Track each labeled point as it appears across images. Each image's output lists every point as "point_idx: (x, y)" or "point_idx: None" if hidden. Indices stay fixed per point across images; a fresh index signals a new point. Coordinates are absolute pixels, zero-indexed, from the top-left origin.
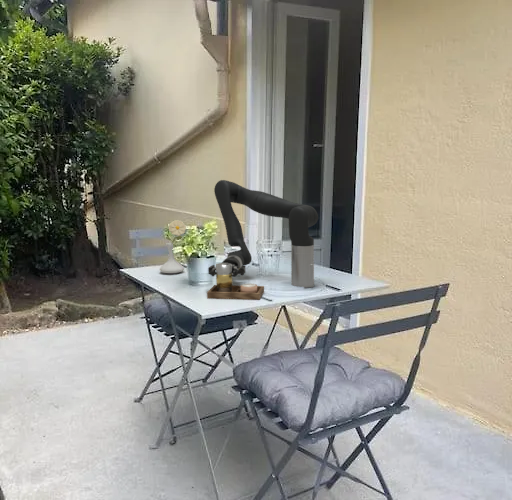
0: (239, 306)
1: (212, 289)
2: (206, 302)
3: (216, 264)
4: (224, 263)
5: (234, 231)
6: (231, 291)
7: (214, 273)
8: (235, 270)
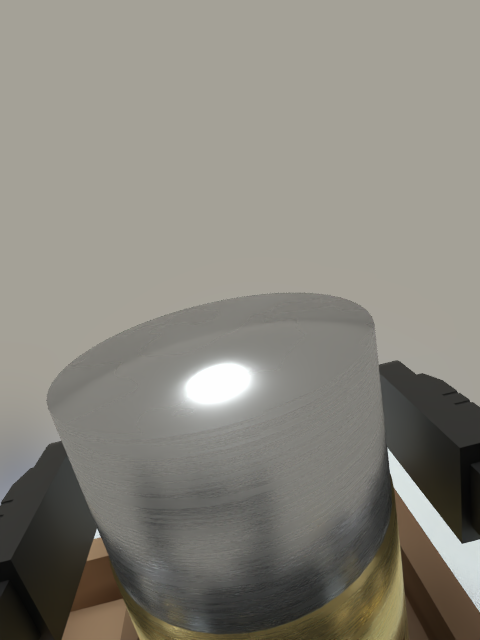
0: None
1: (415, 571)
2: None
3: (341, 303)
4: (216, 369)
5: None
6: None
7: (406, 446)
8: (28, 477)
